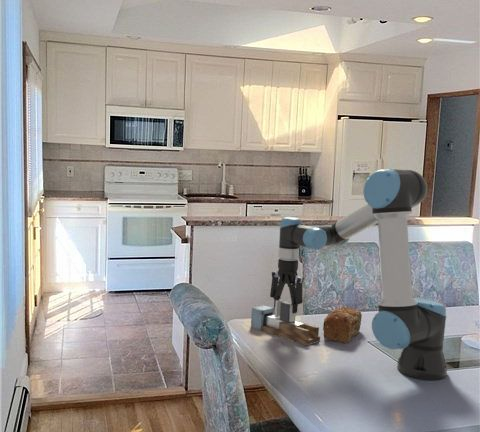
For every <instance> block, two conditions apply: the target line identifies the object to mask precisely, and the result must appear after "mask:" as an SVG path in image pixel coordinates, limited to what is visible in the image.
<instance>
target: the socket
mask: <svg viewBox="0 0 480 432" xmlns="http://www.w3.org/2000/svg"><path fill="white" fill-rule="evenodd" d="M269 314H274V315H275V308H274V306H271V305H268V304H262V305H259V306H255V307H252V308H251V316H250V317H251V320H250V321H251V322H250V328H254V329H256V330H260V331H262V330H261V326H263V321H264V317H265V315H269Z"/></svg>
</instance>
